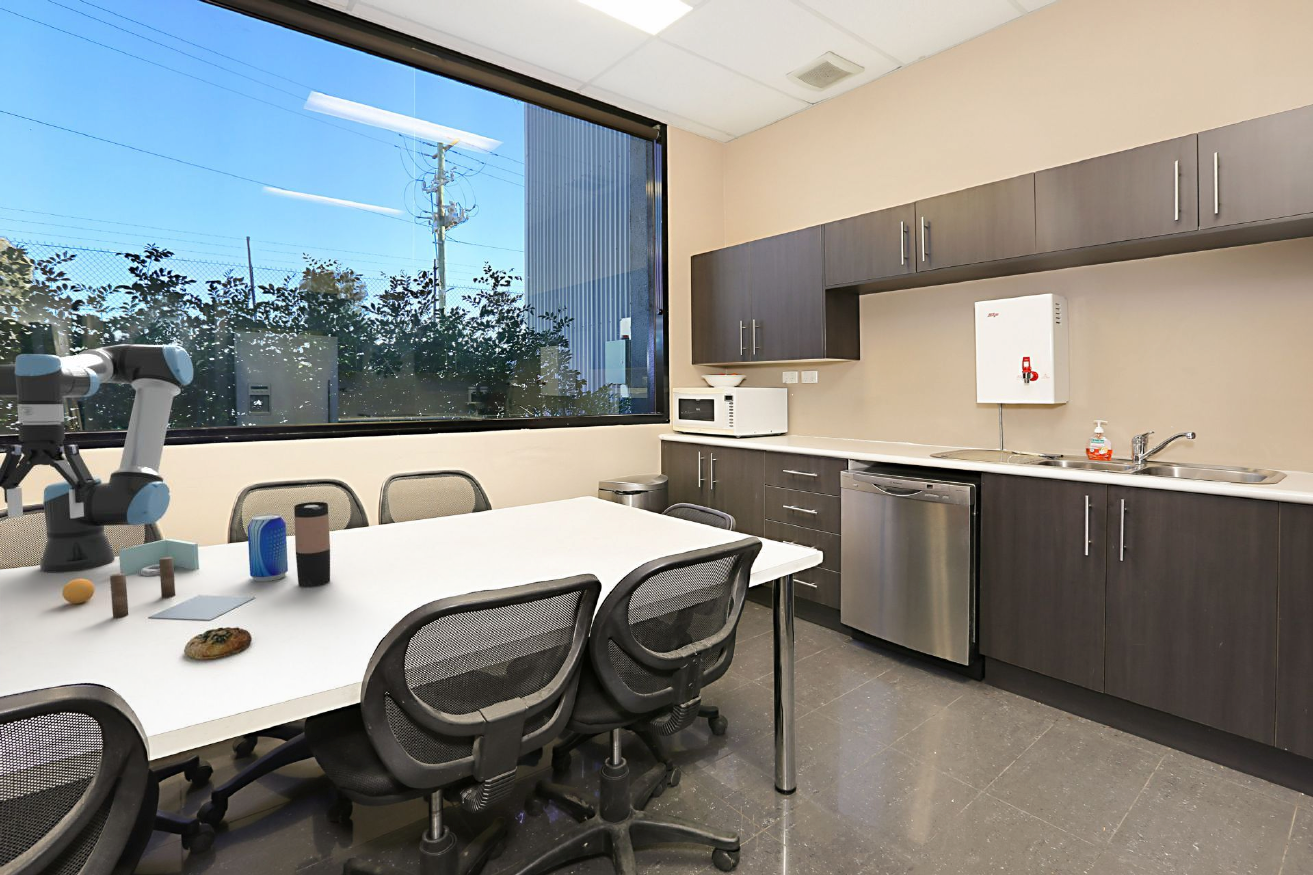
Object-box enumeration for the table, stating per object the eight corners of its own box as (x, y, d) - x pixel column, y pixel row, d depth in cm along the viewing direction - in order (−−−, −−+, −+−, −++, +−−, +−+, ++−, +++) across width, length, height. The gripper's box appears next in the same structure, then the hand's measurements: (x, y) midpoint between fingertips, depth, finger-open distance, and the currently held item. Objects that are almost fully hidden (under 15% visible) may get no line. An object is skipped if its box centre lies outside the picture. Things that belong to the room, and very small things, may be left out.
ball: (56, 606, 145) (54, 582, 145) (79, 598, 151) (78, 575, 150) (79, 607, 145) (77, 583, 144) (102, 599, 150) (100, 575, 150)
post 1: (109, 617, 139) (106, 576, 138) (120, 613, 142) (117, 573, 141) (121, 617, 139) (118, 577, 138) (131, 613, 142) (128, 573, 141)
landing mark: (148, 617, 139) (148, 617, 139) (198, 595, 153) (198, 595, 153) (210, 620, 138) (210, 619, 138) (255, 598, 152) (255, 597, 152)
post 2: (158, 597, 152) (156, 560, 151) (167, 593, 154) (165, 556, 154) (169, 597, 152) (166, 560, 151) (178, 594, 154) (175, 557, 153)
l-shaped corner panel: (120, 577, 168) (118, 549, 167) (170, 565, 179) (168, 538, 178) (150, 583, 163) (148, 554, 163) (199, 570, 174) (197, 543, 174)
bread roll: (264, 636, 130) (260, 614, 129) (231, 668, 120) (226, 644, 118) (208, 639, 130) (203, 616, 129) (169, 671, 119) (164, 646, 118)
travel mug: (305, 578, 167) (302, 501, 165) (336, 577, 168) (333, 501, 166) (291, 588, 159) (287, 508, 158) (323, 587, 160) (320, 507, 158)
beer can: (270, 583, 163) (267, 520, 161) (242, 581, 164) (238, 519, 163) (295, 573, 171) (292, 513, 169) (268, 571, 173) (265, 512, 171)
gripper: (-33, 424, 142) (-28, 520, 143) (84, 424, 142) (88, 520, 143) (1, 422, 149) (6, 514, 150) (111, 423, 150) (116, 514, 151)
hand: (46, 517), depth 147 cm, fingers open, 13 cm apart
